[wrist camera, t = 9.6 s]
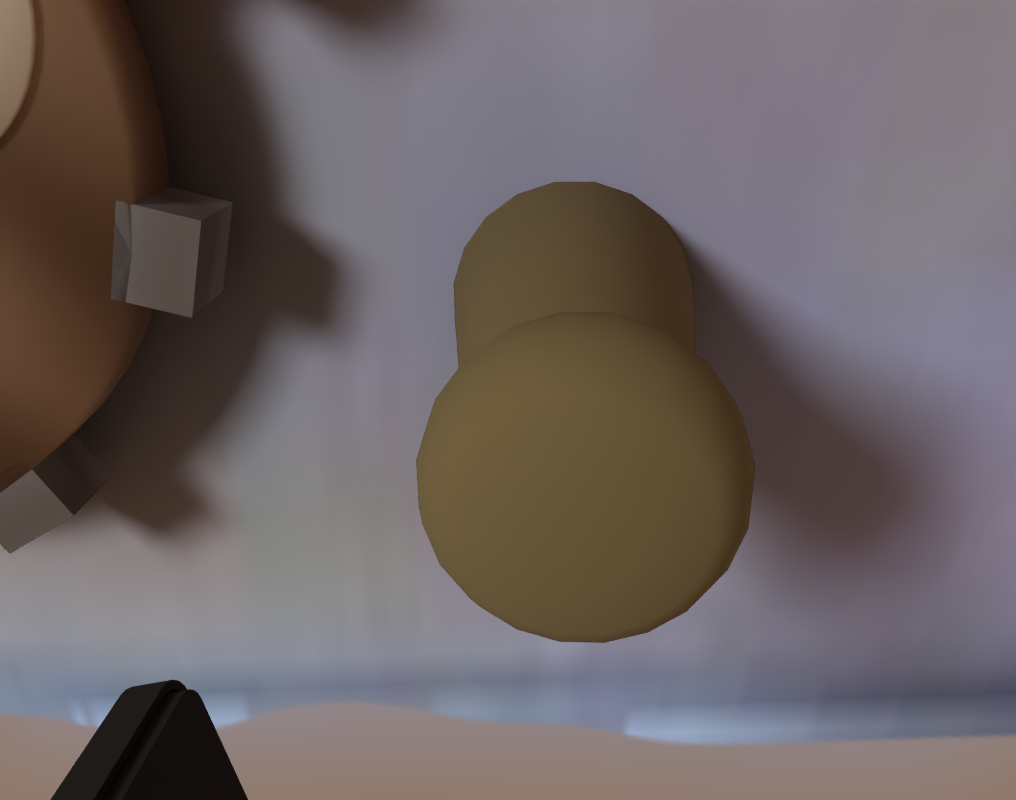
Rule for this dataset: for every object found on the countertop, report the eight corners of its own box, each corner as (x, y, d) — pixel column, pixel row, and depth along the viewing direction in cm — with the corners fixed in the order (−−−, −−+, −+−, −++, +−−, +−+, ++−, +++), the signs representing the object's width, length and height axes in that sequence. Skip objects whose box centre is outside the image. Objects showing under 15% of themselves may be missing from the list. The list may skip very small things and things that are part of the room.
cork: (718, 202, 21) (867, 371, 11) (664, 427, 24) (745, 734, 14) (468, 162, 21) (390, 297, 11) (440, 392, 24) (354, 675, 14)
